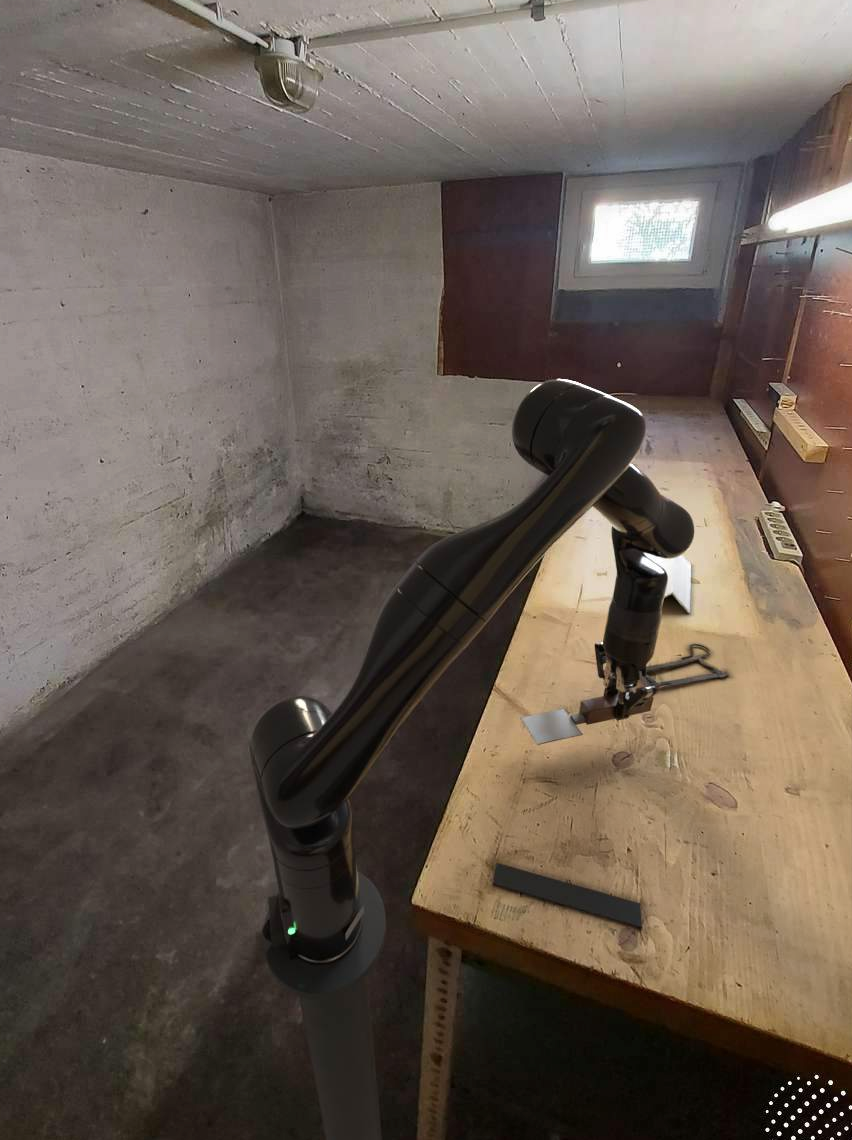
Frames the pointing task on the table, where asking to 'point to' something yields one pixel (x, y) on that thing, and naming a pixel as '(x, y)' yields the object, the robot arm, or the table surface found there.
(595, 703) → the scraper
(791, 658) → the table surface
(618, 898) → the edge strip
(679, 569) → the z bracket
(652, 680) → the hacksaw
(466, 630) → the robot arm
